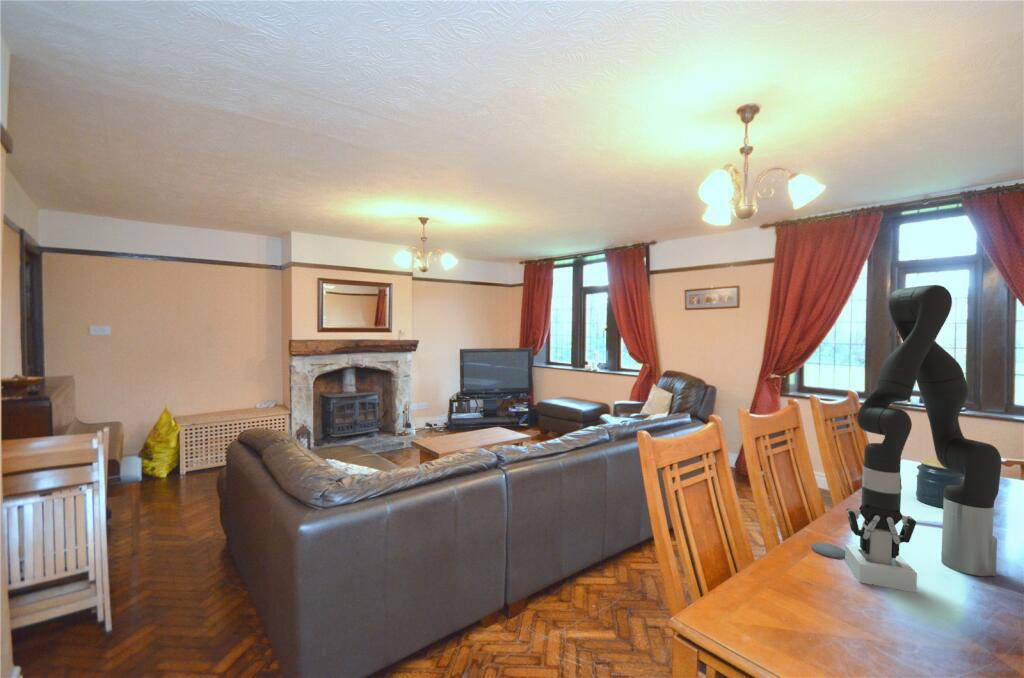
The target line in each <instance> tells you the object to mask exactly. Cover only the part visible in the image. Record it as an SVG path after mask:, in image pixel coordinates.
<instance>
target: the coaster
mask: <svg viewBox="0 0 1024 678" xmlns="http://www.w3.org/2000/svg"><path fill="white" fill-rule="evenodd" d="M811 550H812V551H813V552H815V553H816V554H818V555H821V556H823V557H826V558H830V559H835V560H843V559H844V560H845V549H843V548H841V547H840V546H838V545H833V544H831V543H828V542H827V543H826V542H814V543H812V544H811Z"/></svg>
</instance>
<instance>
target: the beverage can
mask: <svg viewBox="0 0 1024 678" xmlns="http://www.w3.org/2000/svg"><path fill="white" fill-rule="evenodd" d="M868 539H869V540H870V542H869V554H867V560H866V561H867V562H872V563H878V564H884V565H890V566H891V560H892V534H891V532H890V531H889V530H887V529H883V528H874V530H873V532H871V534H870V536H869V538H868Z"/></svg>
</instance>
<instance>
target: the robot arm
mask: <svg viewBox="0 0 1024 678" xmlns="http://www.w3.org/2000/svg"><path fill="white" fill-rule="evenodd" d="M952 307H953V297H952V295H951V293H950V290H948V289H947V288H946V287H945V286H943V285H941V284H939V285H938V284H930V285H929V284H928V285H920V286H919V285H918V286H912V287H905V288H904V287H903V288H899V289H896V290H894V291H892V292H891V294H890V296H889V298H888V311H889V315H890V317H891V319H892V321H893V324H894V326H895V328H896V330H897V332H898V334H899V336H900V339H901V340H902V342H901V343H900V345H898V346H897V347H896V348H895V349H894V350H893V351H892V352H891V354H889V356H888V357H887V358H886V359H885V361H884V363H883V364H882V367H881V369H880V373H879V376H878V378H877V381H876V384H875V387H874V388H873V389H872V391H871V392H870V393H869V395H868V397H866V399H865V400H864V401H863V403H862V404H861V406H860V408H859V409H858V412H857V414H856V415H857V416H856V420H857V421H856V422H857V424H858V426H859V428H860V429H861V430H862V431H864V432H867V433H871V434H876V435H880V436H884V438H883V441H882V442H871V443H870V442H869V443H868V444H866V445H865V446H864V451H863V453H864V455H863V470H862V475H861V476H862V479H861V504H860V506H859V508H856V509H855V508H854V509H851V508H846V509H845V511H846V512H845V513H846V515H847V518H848V523H849V527H850V530H851V532H853V534H854V535H855V536H858V537H859V546H860V548H861V549H862V551H863V552H864V553H865V554H869V542H870V540H869V539H868V538H869V536H870V534H871V532H873V530H874V528H883V529H887V530H889V531H890V532H891V534H892V558H896V556H898V555H900V544H901V543H907V544H908V543H910V541H911V539H912V535H913V533H914V530H915V527H916V525H917V521H916V520H915V519H914V518H913V517H912V516H909V515H908V516H906V515H903V514H902V513H901V503H902V501H901V500H902V489H903V488H902V487H903V486H902V475H901V459H902V453H903V451H904V448H905V445H906V442H907V440H908V438H909V436H910V434H911V431H912V427H913V426H912V425H913V424H912V423H913V422H912V419H911V417H910V415H909V413H907V412H906V411H905V410H903V409H901V408H895V407H891V406H890V405H891V404H893V403H896V402H905V401H908V400H909V399H910V398H911V396H912V394H913V391H914V388H915V386H916V384H917V386H918V389H919V393H920V395H921V398H922V401H923V403H924V404H923V405H924V407H925V411H926V414H927V419H928V422H929V425H930V430H931V436H932V442H933V447H934V451H935V455H936V457H937V458H938V461H939V462H940V464H941V465H942V466H943V467H945V468H946V469H949V470H951V471H954V472H957V473H961V474H964V475H965V476H964V481H963V484H962V485H949V486H946V487H945V488H944V502H943V508H942V510H943V511H942V528H941V529H942V531H941V532H942V533H941V534H942V535H941V552H940V553H941V554H940V555H941V556H940V557H941V563H942V564H943V565H945V566H946V567H948V568H950V569H953V570H955V571H958V572H960V573H964V574H968V575H972V576H978V577H991V576H992V577H997V559H998V558H997V557H998V555H997V554H998V538H997V537H996V536H994V535H993V533H994V512H995V500H996V498H997V496H998V495H999V491H1000V489H999V488H1000V481H1001V479H1000V478H1001V473H1002V457H1001V454H1000V452H999V449H997V447H995V446H994V445H992V444H990V443H987V442H982V441H977V440H974V439H970V438H969V439H968V438H966V437H965V436H964V434H963V431H962V429H961V426H960V422H959V421H960V420H959V417H960V414H961V411H962V409H963V407H964V406H965V403H967V400H968V396H969V387H968V383H967V380H966V377H965V374H964V370H963V369H962V366H961V365H960V363H959V362H958V361H957V360H956V359H955V358H954V357H953V356H952V355H951V354H950V353H949V352H948V351H946V350H945V349H944V348H943V347H942V346H941V345H940V344H939V343H938V342H937V341H936V339H937V337H938V335H939V333H940V331H941V330H942V328H943V326H944V324H945V323H946V321H947V319H948V317H949V315H950V313H951V310H952ZM889 406H890V407H889ZM860 515H861V516H862V517H863V519H864V520H863V522H862V523H861V524H862V525H861V528H860V527H859V524H858V521H857V520H858V519H859V518H860ZM900 521H901V523H902V527H901V529H900V531H899V533H898V530H897V528H896V525H897V524H898V523H899V522H900Z"/></svg>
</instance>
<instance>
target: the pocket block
mask: <svg viewBox="0 0 1024 678" xmlns="http://www.w3.org/2000/svg"><path fill="white" fill-rule="evenodd" d="M844 546H845V549H844V550H845V558H844V562H845V564H846V565H847V567H848V568H849V569H850V571H851V572H852V574H853V573H854V574H853V576H856V577H855V578H856V579H857V581H858V583H860V582H861V583H862V584H866V583H867V585H872V584H874V585H873V586H877V585H878V587H883V586H884V588H889V587H890V589H894V588H895V589H894V590H901V591H906V592H911V593H917V585H918V584H917V582H918V581H917V579H918V573H917V572H916V571H915V570H914V569H913V567H912V566H911V565H909V563H907V561H906V560H905V559H904V558H903V557H902V556H901V555H900V554H899V555H898V556H896V558H892V560H891V566H890V565H884V564H878V563H872V562H867V561H866V560H867V554H865V553H864V552H863V551H862V549H861V548H860V545H859V546H858V545H852V544H846V543H845V545H844Z"/></svg>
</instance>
